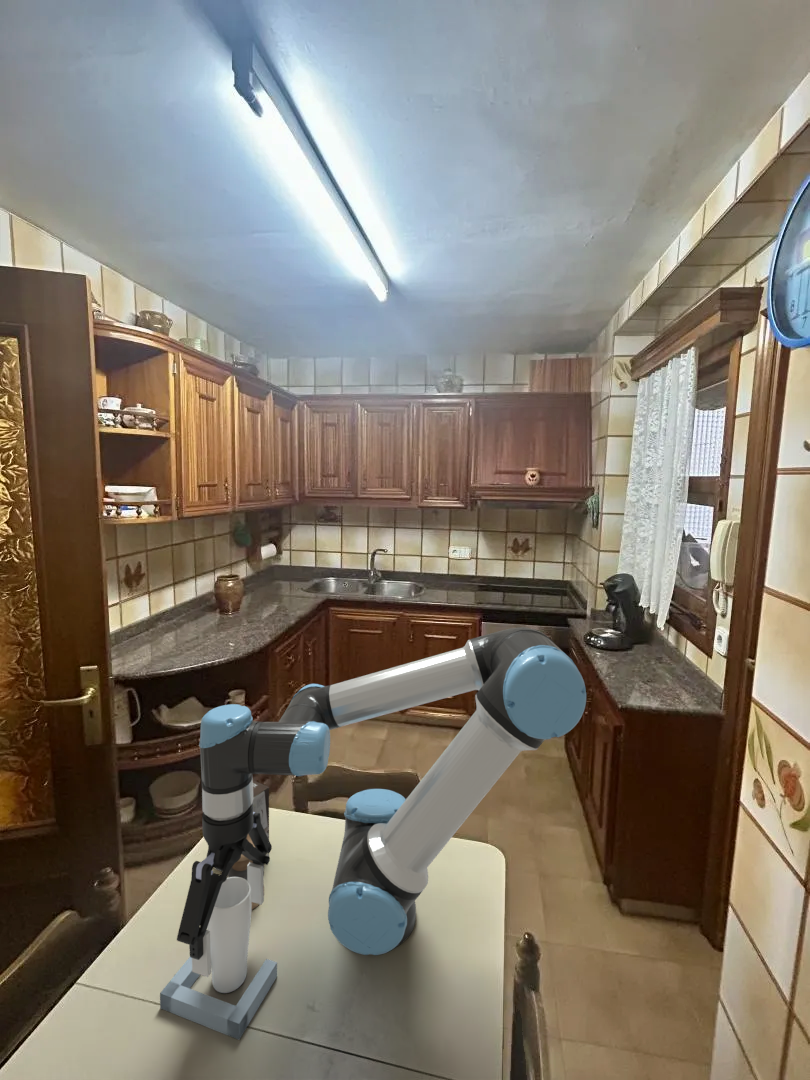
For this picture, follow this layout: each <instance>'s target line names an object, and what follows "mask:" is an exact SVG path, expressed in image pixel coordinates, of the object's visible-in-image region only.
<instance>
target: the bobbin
mask: <svg viewBox="0 0 810 1080" xmlns="http://www.w3.org/2000/svg"><path fill="white" fill-rule="evenodd" d="M247 840H248V841H249V842H250V843H251V844H253V842H252V840H251V838H250V836H249V834H248V835H247ZM253 846H254V844H253ZM254 847H255V846H254ZM249 862H251V863H253V861H251V860H249V859H248V858H246V857H245V856H244V855H242V854H241V858H240V859H239V860H238V861H237V862H236V863H234V865H233V866H232V868H231V869H230V870H229V873H228V876H227V878H230V877H241V878H244V879H246V880H247V865H248V864H249ZM259 905H260V904H257V903H254V902H252V907H251V911H253V910H254V909H256V908H257V907H258V906H259Z"/></svg>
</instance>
